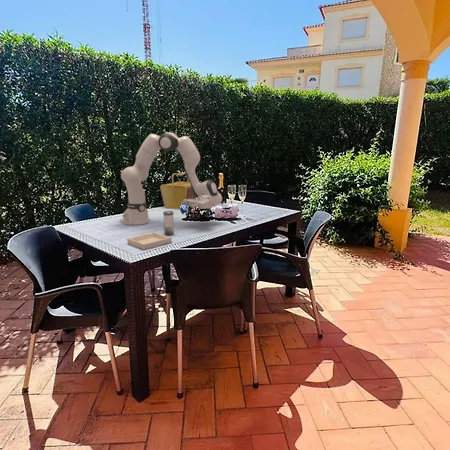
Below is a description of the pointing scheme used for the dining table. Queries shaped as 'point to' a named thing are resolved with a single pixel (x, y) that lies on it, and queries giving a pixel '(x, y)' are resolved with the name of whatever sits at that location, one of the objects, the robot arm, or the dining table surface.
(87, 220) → the dining table surface
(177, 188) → the picnic basket
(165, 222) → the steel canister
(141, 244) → the sand tray
